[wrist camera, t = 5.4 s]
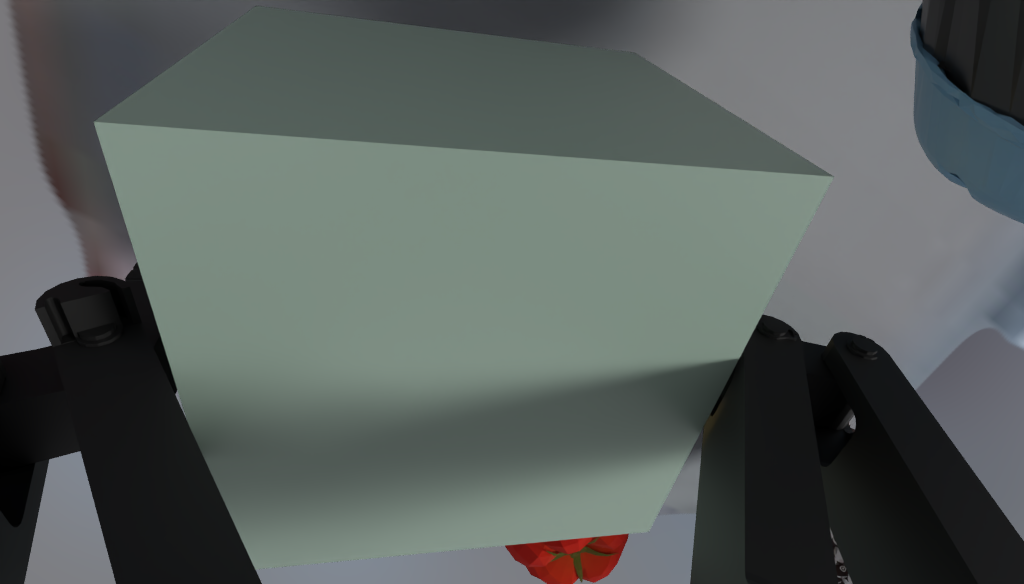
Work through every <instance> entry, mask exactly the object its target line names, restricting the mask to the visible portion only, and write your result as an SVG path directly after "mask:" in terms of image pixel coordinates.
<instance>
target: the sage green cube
mask: <svg viewBox="0 0 1024 584" xmlns="http://www.w3.org/2000/svg"><path fill="white" fill-rule="evenodd" d="M94 125H95V128H96V131H97V135H98V138H99V141H100V144H101V147H102V150H103V154H104V157H105V160H106V163H107V166H108V170H109V173H110V176H111V179H112V182H113V186H114V189H115V192H116V195H117V198H118V202H119V205H120V208H121V211H122V214H123V218H124V221H125V224H126V227H127V230H128V233H129V237H130V240H131V243H132V246H133V249H134V253H135V256H136V259H137V262H138V265H139V269H140V272H141V275H142V278H143V281H144V285H145V288H146V291H147V294H148V297H149V300H150V304H151V307H152V310H153V313H154V316H155V320H156V323H157V326H158V329H159V332H160V336H161V339H162V342H163V345H164V348H165V352H166V355H167V358H168V361H169V364H170V367H171V371H172V374H173V377H174V380H175V383H176V387H177V390H178V393H179V396H180V399H181V403H182V406H183V409H184V412H185V415H186V419H187V422H188V424H189V426H190V428H191V431H192V433H193V435H194V437H195V439H196V441H197V444H198V446H199V448H200V450H201V452H202V455H203V457H204V459H205V461H206V463H207V465H208V468H209V470H210V472H211V474H212V476H213V478H214V481H215V483H216V485H217V487H218V489H219V492H220V494H221V496H222V498H223V500H224V502H225V505H226V507H227V509H228V511H229V513H230V516H231V518H232V520H233V522H234V524H235V526H236V529H237V531H238V533H239V535H240V537H241V539H242V542H243V544H244V546H245V548H246V550H247V553H248V555H249V557H250V559H251V561H252V563H253V566H254V568H255V569H265V568H275V567H286V566H296V565H306V564H317V563H327V562H338V561H349V560H359V559H370V558H380V557H391V556H401V555H411V554H422V553H432V552H443V551H453V550H463V549H474V548H484V547H495V546H506V545H516V544H526V543H537V542H547V541H558V540H568V539H579V538H589V537H600V536H610V535H621V534H631V533H641V532H649V530H650V528H651V527H652V525H653V523H654V521H655V519H656V517H657V515H658V513H659V511H660V509H661V507H662V505H663V504H664V502H665V500H666V498H667V496H668V494H669V492H670V490H671V488H672V486H673V484H674V482H675V481H676V479H677V477H678V475H679V473H680V471H681V469H682V467H683V465H684V463H685V461H686V460H687V458H688V456H689V454H690V452H691V450H692V448H693V446H694V444H695V442H696V440H697V438H698V437H699V435H700V433H701V431H702V429H703V427H704V425H705V423H706V421H707V419H708V417H709V415H710V414H711V412H712V410H713V408H714V406H715V404H716V402H717V400H718V398H719V396H720V394H721V392H722V391H723V389H724V387H725V385H726V383H727V381H728V379H729V377H730V375H731V373H732V371H733V370H734V368H735V366H736V364H737V362H738V360H739V358H740V356H741V354H742V352H743V350H744V348H745V347H746V345H747V343H748V341H749V339H750V337H751V335H752V333H753V331H754V329H755V327H756V325H757V324H758V322H759V320H760V318H761V316H762V314H763V312H764V310H765V308H766V306H767V304H768V302H769V301H770V299H771V297H772V295H773V293H774V291H775V289H776V287H777V285H778V283H779V281H780V280H781V278H782V276H783V274H784V272H785V270H786V268H787V266H788V264H789V262H790V260H791V258H792V257H793V255H794V253H795V251H796V249H797V247H798V245H799V243H800V241H801V239H802V237H803V235H804V234H805V232H806V230H807V228H808V226H809V224H810V222H811V220H812V218H813V216H814V214H815V212H816V211H817V209H818V207H819V205H820V203H821V201H822V199H823V197H824V195H825V193H826V191H827V189H828V188H829V186H830V184H831V182H832V180H833V178H834V176H832V175H830V174H829V173H827V172H826V171H824V170H822V169H821V168H819V167H818V166H816V165H814V164H813V163H811V162H810V161H808V160H806V159H805V158H803V157H802V156H800V155H798V154H797V153H795V152H793V151H792V150H790V149H789V148H787V147H785V146H784V145H782V144H781V143H779V142H777V141H776V140H774V139H773V138H771V137H769V136H768V135H766V134H765V133H763V132H761V131H760V130H758V129H757V128H755V127H753V126H752V125H750V124H749V123H747V122H745V121H744V120H742V119H741V118H739V117H737V116H736V115H734V114H733V113H731V112H729V111H728V110H726V109H724V108H723V107H721V106H720V105H718V104H716V103H715V102H713V101H712V100H710V99H708V98H707V97H705V96H704V95H702V94H700V93H699V92H697V91H696V90H694V89H692V88H691V87H689V86H688V85H686V84H684V83H683V82H681V81H680V80H678V79H676V78H675V77H673V76H672V75H670V74H668V73H667V72H665V71H664V70H662V69H660V68H659V67H657V66H655V65H654V64H652V63H651V62H649V61H647V60H646V59H644V58H643V57H641V56H639V55H638V54H636V53H632V52H624V51H616V50H608V49H600V48H592V47H584V46H576V45H568V44H560V43H552V42H544V41H535V40H527V39H519V38H511V37H503V36H495V35H487V34H479V33H471V32H463V31H455V30H447V29H439V28H431V27H423V26H415V25H407V24H399V23H391V22H383V21H374V20H366V19H358V18H350V17H342V16H334V15H326V14H318V13H310V12H302V11H294V10H286V9H278V8H270V7H262V6H255V7H254V8H253V9H251V10H250V11H248V12H247V13H246V14H244V15H243V16H241V17H240V18H239V19H237V20H236V21H234V22H233V23H232V24H230V25H229V26H227V27H226V28H225V29H223V30H222V31H220V32H219V33H218V34H216V35H215V36H213V37H212V38H210V39H209V40H208V41H206V42H205V43H203V44H202V45H201V46H199V47H198V48H196V49H195V50H194V51H192V52H191V53H189V54H188V55H187V56H185V57H184V58H182V59H181V60H180V61H178V62H177V63H175V64H174V65H173V66H171V67H170V68H168V69H167V70H166V71H164V72H163V73H161V74H160V75H159V76H157V77H156V78H154V79H153V80H152V81H150V82H149V83H147V84H146V85H145V86H143V87H142V88H140V89H139V90H138V91H136V92H135V93H133V94H132V95H130V96H129V97H128V98H126V99H125V100H123V101H122V102H121V103H119V104H118V105H116V106H115V107H114V108H112V109H111V110H109V111H108V112H107V113H105V114H104V115H102V116H101V117H100V118H98V119H97V120H95V121H94Z"/></svg>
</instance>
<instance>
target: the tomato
mask: <svg viewBox="0 0 1024 584" xmlns="http://www.w3.org/2000/svg"><path fill="white" fill-rule="evenodd" d="M627 539H628V534H621V535H610V536H600V537H589V538H579V539H568V540H558V541H547V542H537V543H526V544H516V545H506V546H505V547H506V548H507V550H508V551H509V552H510V554H511V555H512V556H513V558H514V559H515V560H516V561H518V562H520V563H522V564H523V565H525V566H526V567H527V569H528V571H529V572H530V574H531V575H533V576H535V577H537V578H539V579H541V580H542V581H544V582H545V583H547V584H573V583H574V582H575V581H576V580H577V579H578V578H579V579H580V581H581V582H582V579H584V580H587V581H590V582H596V581H598V580H600V579H602V578H604V577H606V576H608V575H609V573H610V572H611V571H612V570H613V568H614V567H615V566H616V565H617V563H618V560H619V558H620V556H621V553H622V551H623V549H624V546H625V544H626V542H627Z"/></svg>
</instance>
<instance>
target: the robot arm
mask: <svg viewBox="0 0 1024 584" xmlns="http://www.w3.org/2000/svg"><path fill="white" fill-rule="evenodd" d="M910 38H911V47H912V50H913V53H914V57H915V58H916V69H915V92H914V124H915V130H916V134H917V137H918V140H919V142H920V145H921V147H922V149H923V150H924V152H925V154H926V156H927V157H928V159H929V160H930V161H931V163H932V164H933V165H934V167H935V168H936V169H937V170H938V171H939V172H940V173H942V174H943V175H944V176H945V177H946V178H948V179H949V180H950V181H951V182H953V183H956V184H958V185H960V186H962V187H965V188H967V189H968V191H969V193H970V194H971V196H972V197H973V198H974V199H975V200H976V201H978V202H979V203H981V204H983V205H985V206H986V207H988V208H990V209H992V210H994V211H996V212H998V213H1000V214H1002V215H1005V216H1007V217H1009V218H1011V219H1014V220H1016V221H1018V222H1021V223H1023V224H1024V0H923V2H922V4H921V6H920V7H919V9H918V11H917V14H916V17H915V19H914V20H913V22H912V24H911V33H910ZM125 279H126V280H125V281H124V280H121V279H117V278H114V277H107V276H92V277H84V278H77V279H74V280H71V281H68V282H65V283H61V284H59V285H57V286H55V287H53V288H51V289H50V290H48V291H46V292H45V293H44V294H43V295H42V296H41V297H40V298H39V299H38V300H37V301H36V306H35V311H36V313H37V315H38V317H39V319H40V321H41V323H42V325H43V327H44V329H45V332H46V334H47V336H48V338H49V340H50V342H51V344H52V346H49V347H45V348H40V349H36V350H31V351H25V352H20V353H15V354H9V355H3V356H0V584H24V581H25V576H26V571H27V566H28V562H29V556H30V552H31V547H32V542H33V537H34V532H35V527H36V522H37V517H38V512H39V507H40V502H41V498H42V492H43V487H44V483H45V478H46V473H47V468H48V463H49V459H52V458H55V457H59V456H63V455H67V454H70V453H74V452H78V451H81V454H82V458H83V462H84V466H85V469H86V473H87V476H88V481H89V484H90V488H91V492H92V495H93V499H94V502H95V507H96V510H97V514H98V518H99V521H100V525H101V529H102V533H103V536H104V540H105V544H106V548H107V551H108V555H109V559H110V563H111V566H112V570H113V574H114V578H115V581H116V584H262V583H261V581H260V579H259V577H258V575H257V572H256V570H255V568H254V566H253V563H252V561H251V559H250V557H249V555H248V553H247V550H246V548H245V546H244V544H243V542H242V539H241V537H240V535H239V533H238V531H237V529H236V526H235V524H234V522H233V520H232V518H231V516H230V513H229V511H228V509H227V507H226V505H225V502H224V500H223V498H222V496H221V494H220V492H219V489H218V487H217V485H216V483H215V481H214V478H213V476H212V474H211V472H210V470H209V468H208V465H207V463H206V461H205V459H204V457H203V455H202V452H201V450H200V448H199V446H198V444H197V441H196V439H195V437H194V435H193V433H192V431H191V428H190V426H189V424H188V422H187V420H186V417H185V415H184V413H183V411H182V409H181V407H180V404H179V402H178V400H177V398H176V396H175V394H176V392H177V387H176V383H175V380H174V377H173V374H172V371H171V367H170V364H169V361H168V358H167V355H166V352H165V348H164V345H163V342H162V339H161V336H160V332H159V329H158V326H157V323H156V320H155V316H154V313H153V310H152V307H151V304H150V300H149V297H148V294H147V291H146V288H145V285H144V281H143V278H142V275H141V272H140V269H139V265H138V262H137V263H136V264H135V266H134V267H133V270H131V271H130V273H129V274H128V275H127V277H126V278H125ZM854 415H855V418H856V428H855V431H854V432H853V431H852V430H851V428H850V426H849V424H848V423H849V421H850V420H851V419H852V417H853V416H854ZM830 529H831V532H832V534H833V537H834V539H835V542H836V544H837V546H838V549H839V551H840V554H841V556H842V559H843V561H844V564H845V566H846V569H847V571H848V573H849V576H850V578H851V581H852V583H853V584H1024V541H1023V540H1022V538H1021V537H1020V535H1019V534H1018V533H1017V531H1016V530H1015V529H1014V527H1013V526H1012V525H1011V523H1010V522H1009V520H1008V519H1007V517H1006V516H1005V515H1004V513H1003V512H1002V510H1001V509H1000V508H999V506H998V505H997V504H996V502H995V501H994V499H993V498H992V497H991V495H990V494H989V492H988V491H987V490H986V488H985V487H984V485H983V484H982V483H981V481H980V480H979V479H978V477H977V476H976V475H975V473H974V472H973V470H972V469H971V468H970V466H969V465H968V463H967V462H966V461H965V460H964V458H963V457H962V455H961V454H960V452H959V451H958V449H957V448H956V447H955V445H954V444H953V442H952V441H951V440H950V438H949V437H948V436H947V434H946V433H945V431H944V430H943V429H942V427H941V426H940V424H939V423H938V422H937V420H936V419H935V418H934V416H933V415H932V413H931V412H930V411H929V409H928V408H927V407H926V405H925V404H924V402H923V401H922V400H921V398H920V397H919V395H918V394H917V393H916V391H915V390H914V388H913V387H912V386H911V384H910V383H909V381H908V380H907V379H906V377H905V376H904V374H903V373H902V372H901V370H900V369H899V368H898V366H897V365H896V363H895V362H894V361H893V359H892V358H891V356H890V355H889V354H888V353H887V352H886V351H885V350H884V349H883V348H882V347H881V346H879V345H878V344H876V343H875V342H874V341H873V340H871V339H869V338H866V337H865V336H862V335H857V334H854V333H849V332H839V333H836V334H834V336H833V337H832V339H831V340H830V342H829V343H828V345H827V346H822V345H818V344H813V343H808V342H804V341H801V339H800V337H799V334H798V333H797V332H796V331H795V330H794V329H793V328H792V327H791V326H789V325H788V324H786V323H785V322H783V321H781V320H779V319H776V318H774V317H771V316H767V315H762V316H761V318H760V320H759V322H758V324H757V325H756V327H755V329H754V331H753V333H752V335H751V337H750V339H749V341H748V343H747V345H746V347H745V348H744V350H743V352H742V354H741V356H740V358H739V360H738V362H737V364H736V366H735V368H734V370H733V371H732V373H731V375H730V377H729V379H728V381H727V383H726V385H725V387H724V389H723V391H722V392H721V394H720V396H719V398H718V400H717V402H716V404H715V406H714V408H713V410H712V412H711V414H710V415H709V417H708V419H707V421H706V423H705V425H704V431H703V443H702V454H701V466H700V477H699V489H698V500H697V512H696V524H695V536H694V548H693V558H692V570H691V582H690V584H838V577H837V571H836V564H835V558H834V551H833V545H832V538H831V532H830Z"/></svg>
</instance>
